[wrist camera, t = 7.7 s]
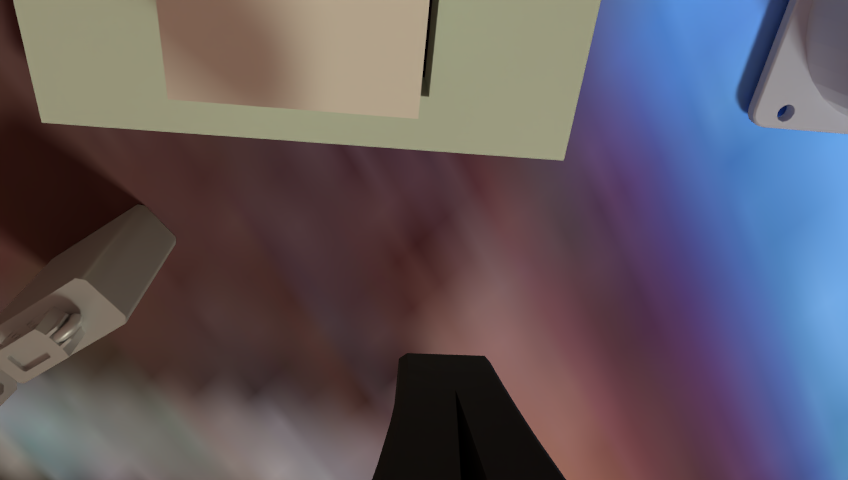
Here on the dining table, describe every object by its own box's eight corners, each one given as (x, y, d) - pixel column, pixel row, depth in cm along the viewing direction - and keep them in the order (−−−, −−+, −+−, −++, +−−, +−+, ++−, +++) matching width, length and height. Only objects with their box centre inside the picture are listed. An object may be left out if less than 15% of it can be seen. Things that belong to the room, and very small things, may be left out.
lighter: (141, 201, 19) (-5, 377, 12) (179, 241, 19) (63, 427, 12) (-14, 300, 20) (-225, 508, 13) (28, 333, 21) (-151, 545, 14)
